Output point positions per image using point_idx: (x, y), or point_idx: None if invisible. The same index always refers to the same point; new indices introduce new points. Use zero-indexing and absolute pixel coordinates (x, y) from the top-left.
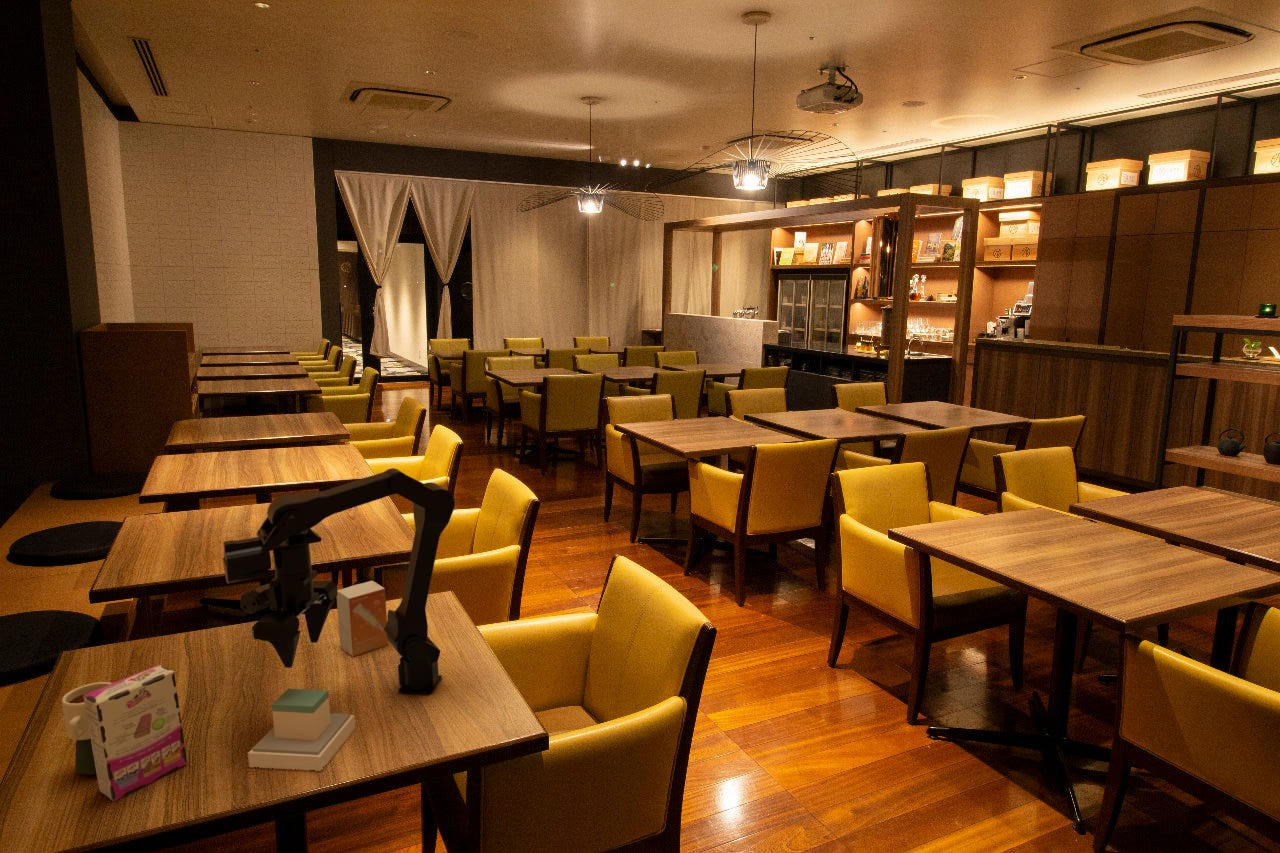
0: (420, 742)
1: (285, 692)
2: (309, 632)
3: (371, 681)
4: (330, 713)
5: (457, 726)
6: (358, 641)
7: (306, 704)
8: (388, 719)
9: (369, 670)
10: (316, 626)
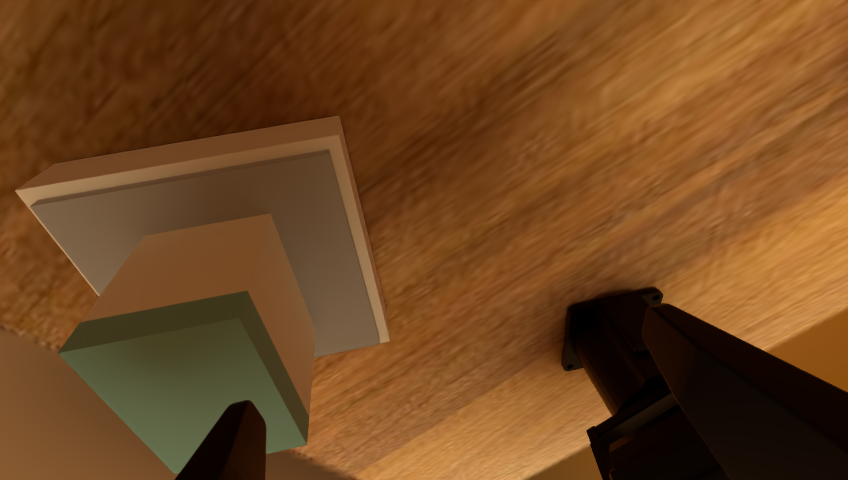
0: (376, 433)
1: (198, 331)
2: (717, 370)
3: (646, 202)
4: (366, 297)
5: (445, 449)
6: None
7: (172, 451)
8: (445, 347)
9: (726, 152)
10: (751, 470)
